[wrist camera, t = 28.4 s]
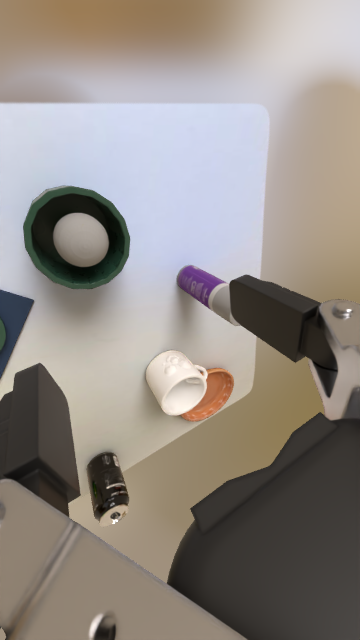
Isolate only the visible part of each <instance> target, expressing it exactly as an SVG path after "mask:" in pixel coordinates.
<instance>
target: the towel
mask: <svg viewBox="0 0 360 640" xmlns="http://www.w3.org/2000/svg"><path fill="white" fill-rule="evenodd" d="M33 301H34V300H32V299H29V298H26V297H22V296H19V295H16V294H12V293H9V292H6V291H3V290H0V317H1V319H2V320H3V322H4V325H5V329H6V338H5V342H4V345H3V347H2V349H1V351H0V378H1V376H2V373H3V371H4V369H5V366H6V364H7V362H8V359H9V357H10V355H11V352H12V350H13V348H14V346H15V343H16V341H17V339H18V336H19V334H20V332H21V329H22V327H23V325H24V322H25V320H26V318H27V315H28V313H29V311H30V308H31V306H32V304H33Z"/></svg>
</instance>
